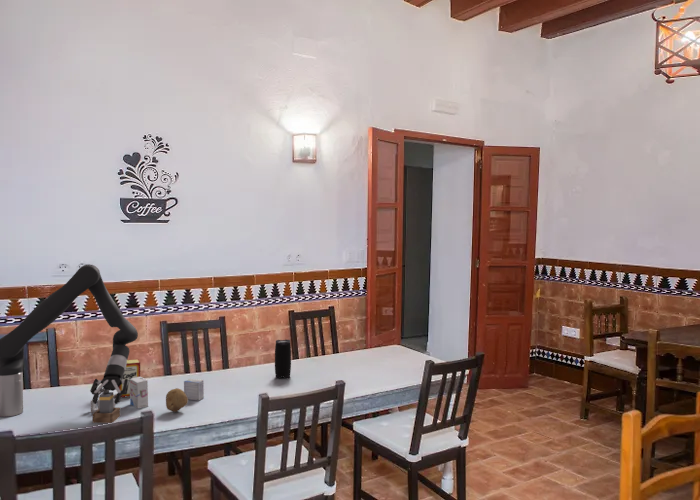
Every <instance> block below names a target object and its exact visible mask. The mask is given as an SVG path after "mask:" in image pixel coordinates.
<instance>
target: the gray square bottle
mask: <svg viewBox="0 0 700 500" xmlns="http://www.w3.org/2000/svg"><path fill="white" fill-rule="evenodd" d="M98 396H99V397H98V400H99V401H100V413H112V412H113V399H114V397H115V394H114V391H111V392H110V390H108V389H106V390H104V392H103V393H101V394H100V395H98Z"/></svg>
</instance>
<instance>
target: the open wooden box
mask: <svg viewBox="0 0 700 500" xmlns="http://www.w3.org/2000/svg"><path fill="white" fill-rule="evenodd" d="M119 417H121V407H115V408H113V412H112V413H100V409H98V410H97V411H96V412H94V413H92V424H93V423H94V424H99V423H100V424H107V423H108V424H109V423H110V424H111V423H112V422H113V423H114V422H116V421H117V420H118V419H119ZM113 423H112V424H113Z"/></svg>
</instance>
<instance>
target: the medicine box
mask: <svg viewBox="0 0 700 500" xmlns="http://www.w3.org/2000/svg"><path fill="white" fill-rule="evenodd" d="M204 384H205V383H204V379H198V378H197V379H196V378H195V379H194V378H187V379H185V380H184V381H183V391H184V393H185V394H186V396H187V398H188V401H201V400H203V399H204V398H205V396H204V394H205V393H204V392H205V391H204V390H205V389H204Z"/></svg>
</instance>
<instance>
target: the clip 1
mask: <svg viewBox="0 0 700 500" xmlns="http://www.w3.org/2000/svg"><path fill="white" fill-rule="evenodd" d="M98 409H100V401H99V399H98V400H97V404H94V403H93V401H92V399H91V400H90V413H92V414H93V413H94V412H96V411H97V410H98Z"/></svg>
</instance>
